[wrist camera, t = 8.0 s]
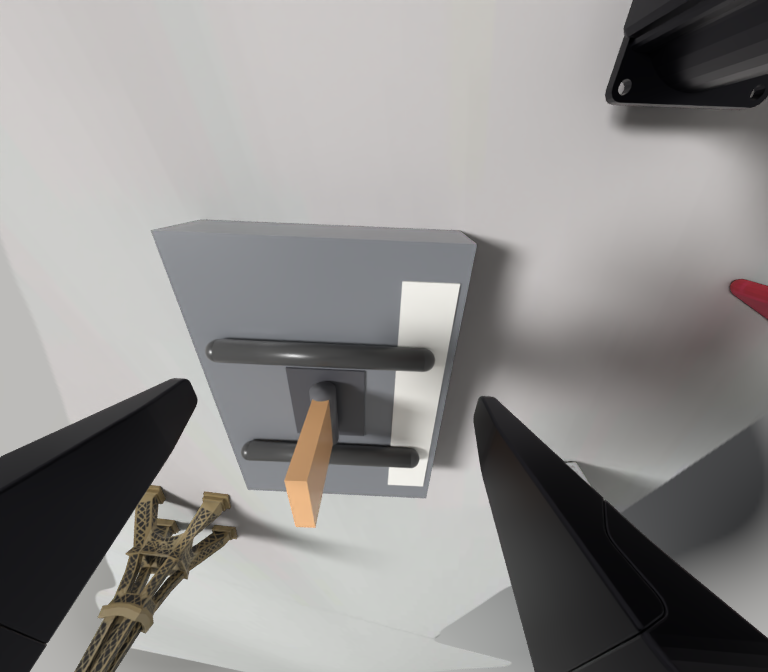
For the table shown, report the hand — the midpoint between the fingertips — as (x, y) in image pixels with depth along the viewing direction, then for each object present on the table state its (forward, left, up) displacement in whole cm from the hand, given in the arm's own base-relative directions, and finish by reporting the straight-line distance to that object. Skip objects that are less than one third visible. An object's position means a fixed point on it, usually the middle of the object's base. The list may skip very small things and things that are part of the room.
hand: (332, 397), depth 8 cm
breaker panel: (+2, +8, -12) cm, 14 cm away
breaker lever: (+2, +8, -7) cm, 11 cm away
